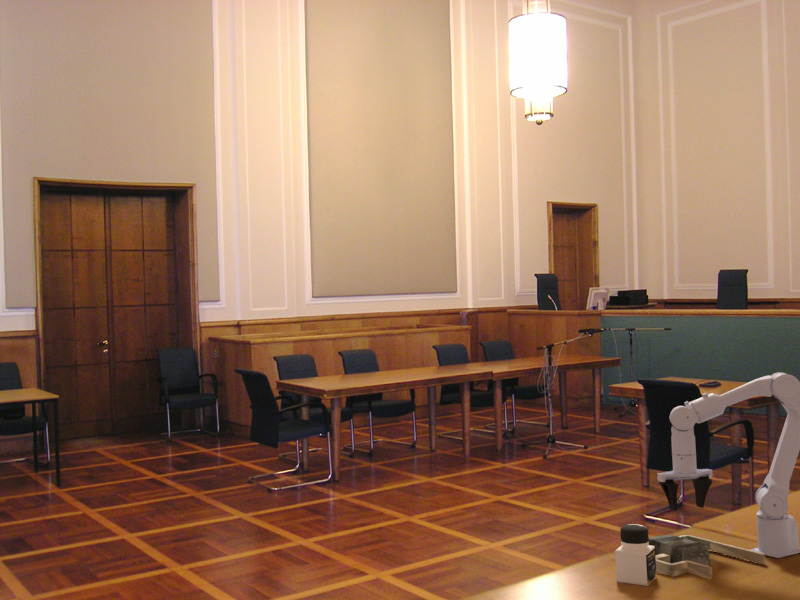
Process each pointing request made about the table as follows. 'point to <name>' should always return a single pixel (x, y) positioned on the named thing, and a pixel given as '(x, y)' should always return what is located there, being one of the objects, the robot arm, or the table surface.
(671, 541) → the stone block
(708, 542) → the trap lane
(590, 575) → the table surface
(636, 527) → the medicine bottle
